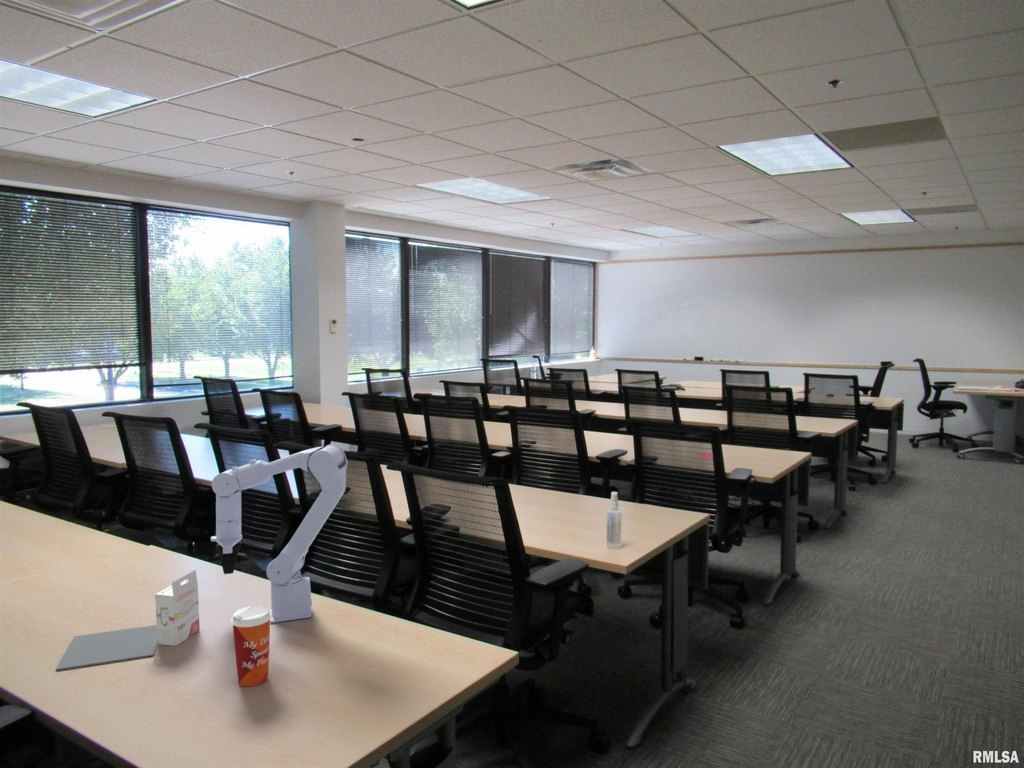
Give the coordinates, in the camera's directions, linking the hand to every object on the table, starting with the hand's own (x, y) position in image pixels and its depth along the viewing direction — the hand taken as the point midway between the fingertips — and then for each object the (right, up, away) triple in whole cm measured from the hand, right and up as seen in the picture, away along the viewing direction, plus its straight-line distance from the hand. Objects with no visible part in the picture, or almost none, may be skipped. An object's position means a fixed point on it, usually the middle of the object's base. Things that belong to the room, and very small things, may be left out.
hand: (228, 572), depth 167 cm
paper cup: (+18, -13, -31) cm, 38 cm away
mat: (-19, -12, -17) cm, 28 cm away
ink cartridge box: (-6, -12, -12) cm, 18 cm away
